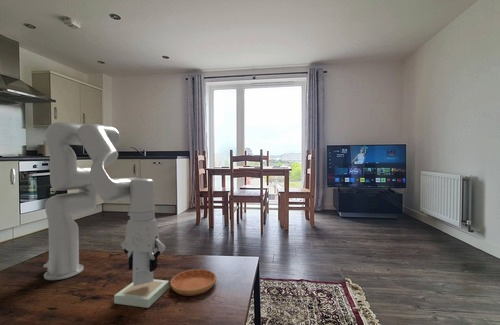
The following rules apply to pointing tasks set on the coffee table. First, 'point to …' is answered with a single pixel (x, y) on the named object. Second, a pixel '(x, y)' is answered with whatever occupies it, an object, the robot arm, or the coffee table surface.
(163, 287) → the picture frame
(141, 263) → the skincare box
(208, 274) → the saucer
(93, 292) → the coffee table surface
